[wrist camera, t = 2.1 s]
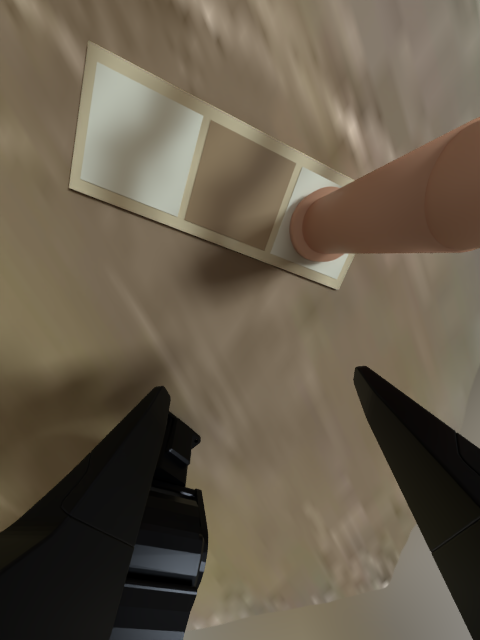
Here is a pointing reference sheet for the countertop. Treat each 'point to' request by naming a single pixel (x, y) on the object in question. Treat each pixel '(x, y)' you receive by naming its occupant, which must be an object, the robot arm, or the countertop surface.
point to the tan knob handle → (399, 205)
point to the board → (193, 166)
